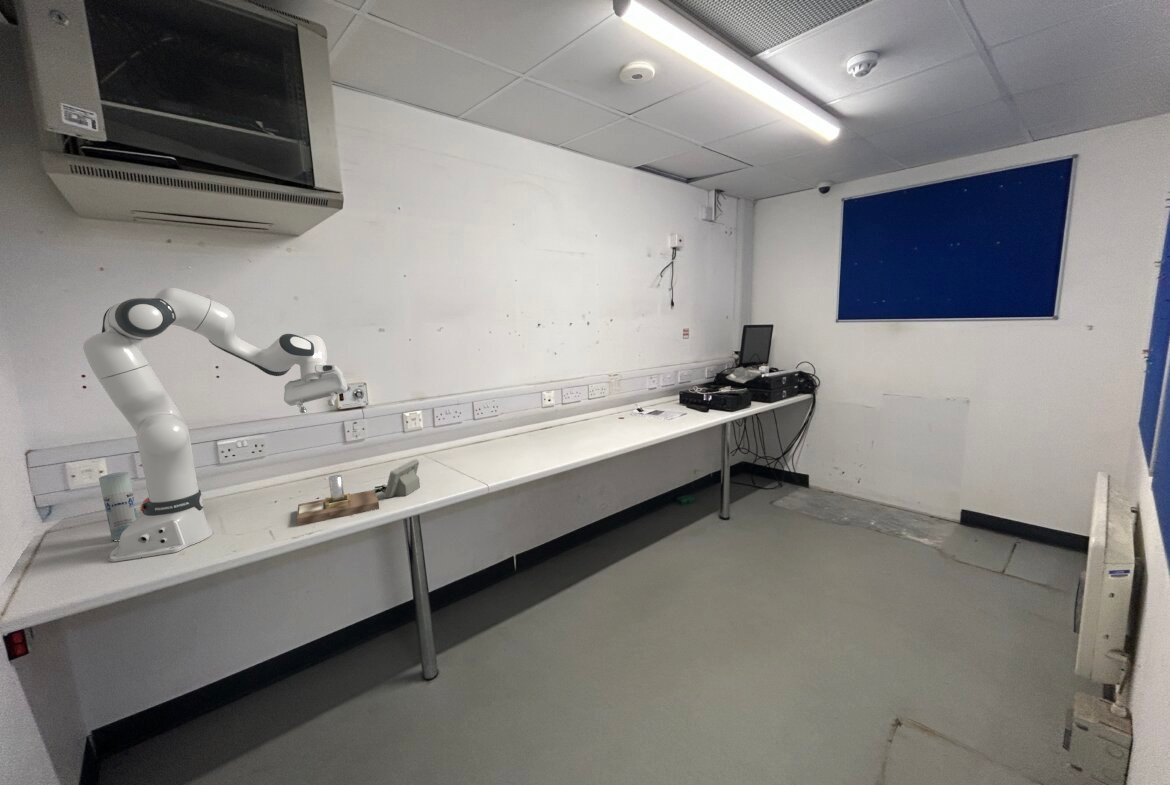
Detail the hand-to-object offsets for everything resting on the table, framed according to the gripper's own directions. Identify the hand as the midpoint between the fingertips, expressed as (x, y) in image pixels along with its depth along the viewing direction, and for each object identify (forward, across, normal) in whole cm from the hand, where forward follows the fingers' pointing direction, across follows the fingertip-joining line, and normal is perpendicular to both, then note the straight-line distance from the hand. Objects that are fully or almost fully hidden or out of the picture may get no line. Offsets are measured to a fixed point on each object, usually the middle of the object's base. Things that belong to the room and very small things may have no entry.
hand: (317, 408), depth 158 cm
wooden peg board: (+33, -1, +14) cm, 36 cm away
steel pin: (+33, -1, +14) cm, 36 cm away
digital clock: (+29, +17, +27) cm, 43 cm away
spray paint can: (+26, -60, +4) cm, 65 cm away
